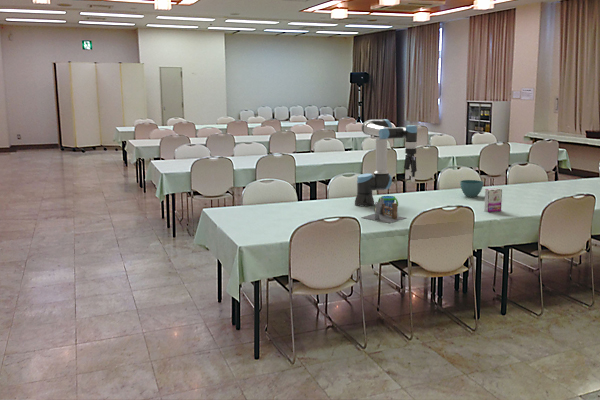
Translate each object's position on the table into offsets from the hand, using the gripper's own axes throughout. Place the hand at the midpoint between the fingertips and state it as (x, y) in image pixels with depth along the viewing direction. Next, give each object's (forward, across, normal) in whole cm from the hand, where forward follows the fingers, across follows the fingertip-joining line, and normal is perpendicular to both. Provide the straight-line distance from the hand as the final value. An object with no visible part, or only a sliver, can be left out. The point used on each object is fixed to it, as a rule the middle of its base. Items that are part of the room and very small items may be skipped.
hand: (409, 180), depth 397 cm
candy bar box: (+26, +3, -65) cm, 70 cm away
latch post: (+26, -6, +25) cm, 36 cm away
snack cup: (+26, +21, +8) cm, 35 cm away
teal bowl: (+26, +57, -76) cm, 98 cm away
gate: (+25, 0, +14) cm, 29 cm away
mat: (+26, -1, +19) cm, 32 cm away
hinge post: (+26, +8, +17) cm, 32 cm away
